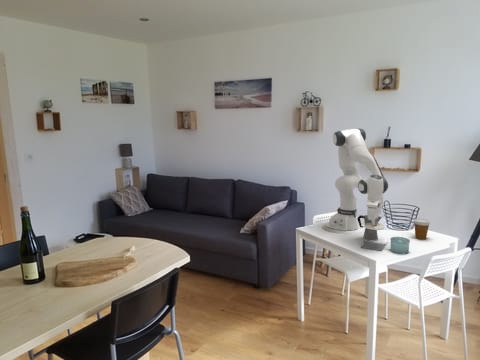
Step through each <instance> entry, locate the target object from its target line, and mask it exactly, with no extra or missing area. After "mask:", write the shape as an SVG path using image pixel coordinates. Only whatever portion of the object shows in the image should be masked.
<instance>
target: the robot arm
mask: <svg viewBox="0 0 480 360" xmlns="http://www.w3.org/2000/svg"><path fill="white" fill-rule="evenodd" d="M366 139H367V134H366V131H365V130H364V129H363V128H348V129H343V130H337V131H335V132H334V133H333V135H332V141H333V144H334V146H336V147H338V151H337V154H338V165H339V168H340V169H341V170H342V172H343V175H341V176H339V177H338V178H336V180H335V182H334V186H335V188H336V190H337V191H338V193H339V199H340V205H339V207H338V208H337V210H336V211H337V212H336V213H335V214H333V215H332V216H330V218H329V221H328V222H326V224H325V227H326V228H329V229H330V228H331V229H334V230H339V231H343V232H345V231H354V230H357V229H358V228H359V226H358V220H357V217H358V215H357V214H358V211H357V209H358V208H357V197H356V196H355V192H354V189H355V190H356V189H357V190H358V191H359V192H360V194H362V195H363V194H364V195H367V200H366V201H367V202H366V211H367V214H366V215H367V216H368V220H371V221H372V225H375V219H378V216H380V215H381V214H382V206H383V205H384V195H383V194H385V193H386V192H387V191H388V188H389V182H388V181H387V179H386V177H385V176H384V174H383V172H382V170H381V168H380V165H379V163H378V161H377V159H376V157H375V156H374V155H373V154H371V152H370V151H369V150H368V148H367V144H366ZM357 163H358V164H363V165H365V166H366V167H368V168H369V169H370V171H371V173H372V174H371V175H369V176H368V177H366V178H362V176H361V175H360V173H359V171H358V168H357V166H356V165H357Z"/></svg>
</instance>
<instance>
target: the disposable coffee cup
mask: <svg viewBox="0 0 480 360" xmlns="http://www.w3.org/2000/svg"><path fill="white" fill-rule="evenodd" d="M413 223H414V235H415V237H414V238H416V240H421V241H422V240H427V235H428V231H429V227H430V224H431V223H430V220H428V219H425V218H415V219H414V220H413Z"/></svg>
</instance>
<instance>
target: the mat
mask: <svg viewBox="0 0 480 360" xmlns="http://www.w3.org/2000/svg"><path fill="white" fill-rule="evenodd" d="M384 246H385V247H386V243H380V242H374V241H369V240H365V242H363V244H362V245H361V246H360V249H361V248H362V249H365V250H370V251H372V250H373V251H378V252H382V251H383V250H384V249H385V247H384Z"/></svg>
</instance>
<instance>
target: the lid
mask: <svg viewBox="0 0 480 360" xmlns="http://www.w3.org/2000/svg"><path fill="white" fill-rule="evenodd" d="M363 228H367V229H371V230H377V231H381V230H384V229H385V228H386V227H385V225H384V224H382V223H379V222H378V223H377V219H375V225H372V223H367V224H365V223H364V225H363Z"/></svg>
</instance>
